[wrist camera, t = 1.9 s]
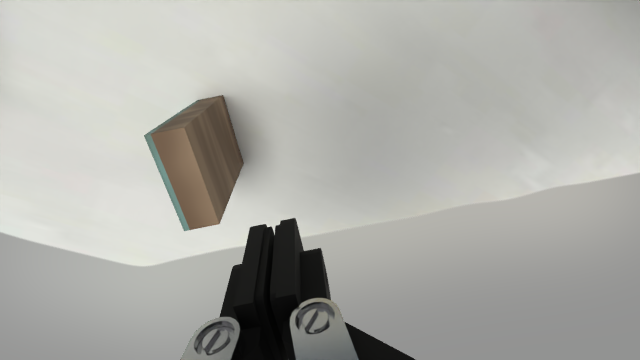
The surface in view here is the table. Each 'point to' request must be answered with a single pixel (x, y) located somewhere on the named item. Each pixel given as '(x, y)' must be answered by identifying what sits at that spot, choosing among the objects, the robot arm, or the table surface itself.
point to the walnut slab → (198, 161)
